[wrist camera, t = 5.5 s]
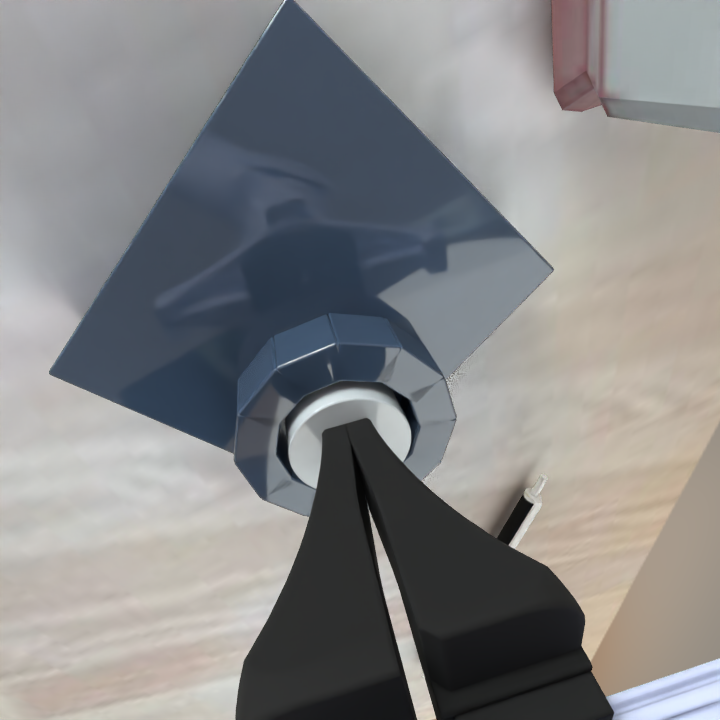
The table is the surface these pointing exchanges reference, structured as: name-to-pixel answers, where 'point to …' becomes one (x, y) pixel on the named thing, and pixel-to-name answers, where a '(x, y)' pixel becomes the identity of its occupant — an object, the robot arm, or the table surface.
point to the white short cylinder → (342, 422)
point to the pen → (521, 516)
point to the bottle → (639, 59)
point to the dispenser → (301, 267)
